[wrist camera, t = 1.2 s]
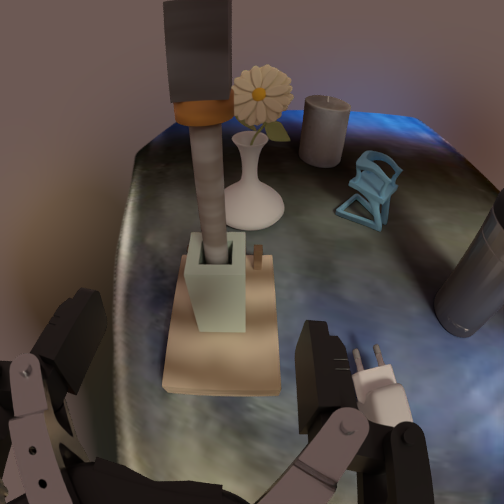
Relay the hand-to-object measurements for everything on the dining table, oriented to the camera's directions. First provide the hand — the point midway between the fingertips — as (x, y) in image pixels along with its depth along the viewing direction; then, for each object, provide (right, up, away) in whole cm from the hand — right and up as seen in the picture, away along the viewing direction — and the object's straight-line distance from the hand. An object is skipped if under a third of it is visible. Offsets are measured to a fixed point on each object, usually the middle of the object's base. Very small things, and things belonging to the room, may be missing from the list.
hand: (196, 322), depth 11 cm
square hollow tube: (-1, -4, +22) cm, 22 cm away
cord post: (-1, -6, +24) cm, 25 cm away
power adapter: (+15, -14, +17) cm, 27 cm away
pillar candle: (+17, +24, +52) cm, 60 cm away
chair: (+22, +9, +39) cm, 45 cm away
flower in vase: (+2, +8, +38) cm, 39 cm away
